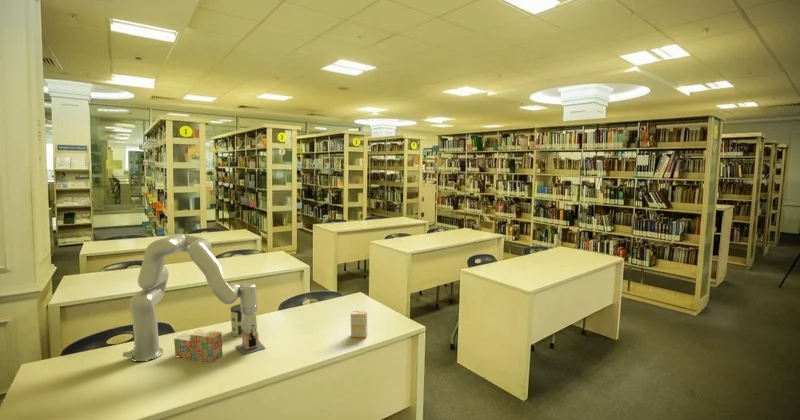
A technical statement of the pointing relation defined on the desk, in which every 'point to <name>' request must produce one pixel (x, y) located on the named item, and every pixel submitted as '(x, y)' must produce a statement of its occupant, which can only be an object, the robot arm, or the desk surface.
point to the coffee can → (236, 320)
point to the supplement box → (359, 324)
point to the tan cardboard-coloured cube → (246, 340)
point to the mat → (251, 350)
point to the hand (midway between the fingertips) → (250, 343)
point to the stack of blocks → (199, 345)
